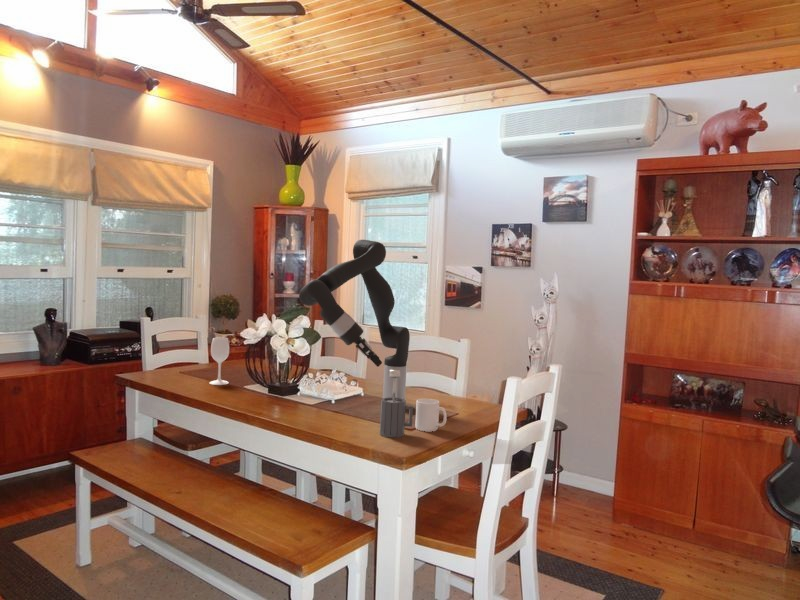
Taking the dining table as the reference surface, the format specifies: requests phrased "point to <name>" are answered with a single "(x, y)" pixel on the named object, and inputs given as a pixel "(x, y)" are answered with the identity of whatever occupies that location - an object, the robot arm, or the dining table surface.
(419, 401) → the cup
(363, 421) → the dining table surface
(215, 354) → the wineglass
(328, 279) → the robot arm
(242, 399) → the dining table surface
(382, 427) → the gray tankard
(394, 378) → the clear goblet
